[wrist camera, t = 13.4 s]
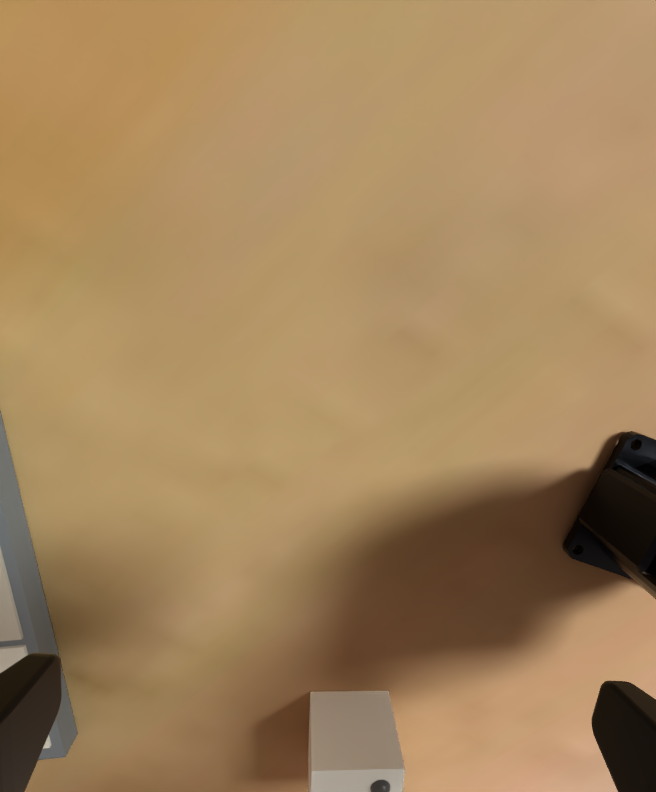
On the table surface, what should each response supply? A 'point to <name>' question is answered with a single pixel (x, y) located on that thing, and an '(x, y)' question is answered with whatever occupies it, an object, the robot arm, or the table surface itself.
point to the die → (353, 743)
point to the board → (25, 600)
